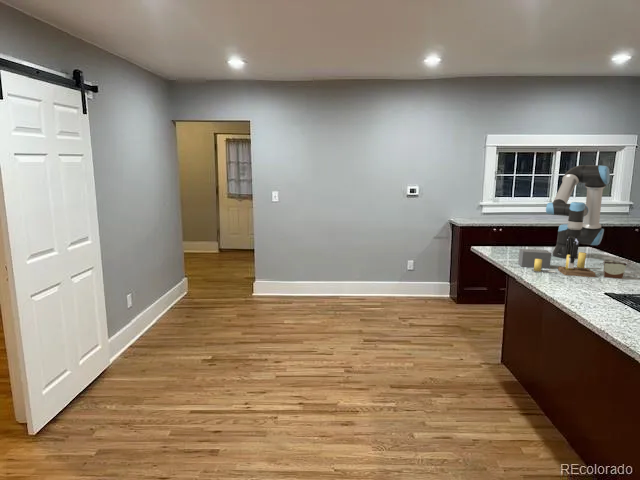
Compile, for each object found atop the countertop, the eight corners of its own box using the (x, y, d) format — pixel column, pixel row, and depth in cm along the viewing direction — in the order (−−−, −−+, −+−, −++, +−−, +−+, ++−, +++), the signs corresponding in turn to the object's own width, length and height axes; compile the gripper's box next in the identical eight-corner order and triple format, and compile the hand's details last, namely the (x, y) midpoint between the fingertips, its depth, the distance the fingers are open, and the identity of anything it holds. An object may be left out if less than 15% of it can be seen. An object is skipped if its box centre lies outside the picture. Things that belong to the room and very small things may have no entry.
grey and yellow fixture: (531, 269, 260) (532, 258, 259) (554, 271, 258) (556, 259, 256) (534, 272, 255) (535, 260, 254) (557, 273, 253) (558, 261, 252)
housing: (518, 263, 275) (519, 248, 273) (545, 265, 272) (547, 250, 270) (521, 267, 267) (523, 251, 265) (549, 268, 264) (551, 253, 262)
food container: (622, 276, 248) (624, 260, 246) (625, 279, 242) (628, 262, 240) (597, 274, 252) (600, 258, 250) (600, 277, 246) (603, 260, 244)
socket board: (557, 270, 261) (558, 266, 260) (586, 272, 258) (586, 268, 257) (565, 275, 249) (565, 271, 249) (594, 277, 246) (595, 273, 246)
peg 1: (563, 270, 256) (565, 254, 254) (570, 270, 255) (573, 254, 254) (566, 272, 252) (568, 255, 250) (573, 272, 252) (575, 256, 250)
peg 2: (575, 267, 269) (577, 252, 267) (582, 267, 268) (584, 252, 266) (578, 269, 265) (580, 253, 263) (585, 269, 264) (587, 253, 262)
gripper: (562, 226, 258) (557, 263, 262) (573, 230, 242) (567, 270, 246) (575, 226, 256) (570, 264, 261) (587, 231, 240) (581, 271, 245)
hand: (569, 267), depth 253 cm, fingers closed on peg 1, 3 cm apart
